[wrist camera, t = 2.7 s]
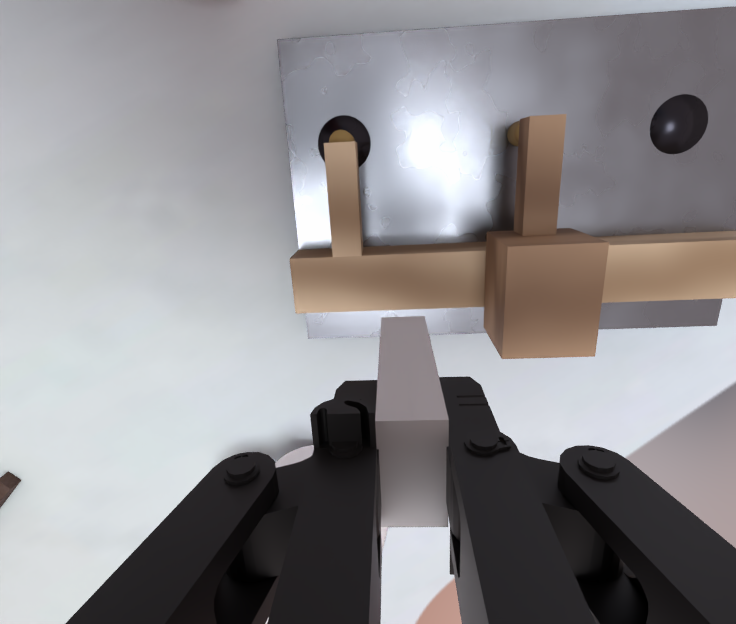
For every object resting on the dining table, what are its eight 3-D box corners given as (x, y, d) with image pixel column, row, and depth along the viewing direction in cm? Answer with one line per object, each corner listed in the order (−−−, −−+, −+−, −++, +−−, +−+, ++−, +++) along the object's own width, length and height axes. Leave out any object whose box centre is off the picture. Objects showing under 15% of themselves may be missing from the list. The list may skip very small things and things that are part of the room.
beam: (286, 135, 23) (275, 132, 21) (764, 106, 22) (810, 100, 19) (304, 299, 26) (295, 313, 24) (725, 283, 25) (761, 297, 22)
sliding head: (479, 123, 22) (515, 108, 16) (560, 118, 22) (627, 102, 16) (474, 311, 26) (501, 358, 19) (544, 308, 25) (594, 356, 19)
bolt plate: (282, 45, 23) (276, 39, 22) (766, 11, 21) (787, 2, 20) (311, 331, 28) (308, 338, 27) (702, 318, 27) (716, 325, 25)
